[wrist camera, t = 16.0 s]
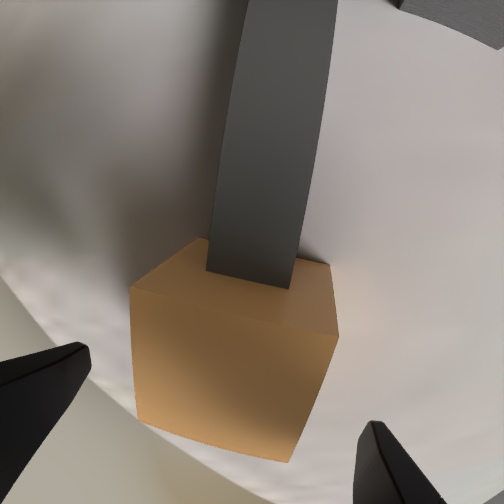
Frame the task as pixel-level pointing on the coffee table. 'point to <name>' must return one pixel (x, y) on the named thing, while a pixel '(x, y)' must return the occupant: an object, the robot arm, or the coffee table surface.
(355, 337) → the coffee table surface
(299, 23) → the plug
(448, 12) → the grey piece
